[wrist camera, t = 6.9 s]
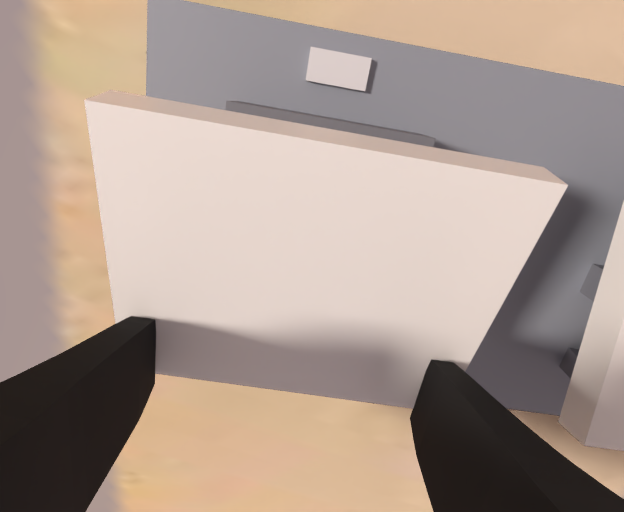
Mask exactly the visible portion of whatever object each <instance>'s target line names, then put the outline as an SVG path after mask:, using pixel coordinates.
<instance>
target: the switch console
mask: <svg viewBox="0 0 624 512" xmlns="http://www.w3.org/2000/svg"><path fill="white" fill-rule="evenodd" d="M146 96H149V97H154V98H160V99H165V100H171V101H177V102H182V103H188V104H193V105H199V106H205V107H210V108H216V109H221V110H227V111H233V112H238V113H244V114H249V115H255V116H261V117H266V118H272V119H277V120H283V121H289V122H294V123H300V124H305V125H311V126H317V127H322V128H328V129H333V130H339V131H345V132H350V133H356V134H361V135H367V136H373V137H378V138H384V139H389V140H395V141H401V142H406V143H412V144H417V145H423V146H429V147H434V148H440V149H445V150H451V151H457V152H462V153H468V154H473V155H479V156H485V157H490V158H496V159H501V160H507V161H513V162H518V163H524V164H529V165H535V166H541V167H544V168H546V169H547V170H548V171H550V172H551V173H552V174H554V175H555V176H557V177H558V178H559V179H561V180H562V181H563V182H565V183H566V184H567V185H568V187H567V189H566V190H565V192H564V194H563V196H562V198H561V199H560V201H559V203H558V205H557V207H556V208H555V210H554V212H553V214H552V216H551V217H550V219H549V221H548V223H547V225H546V226H545V228H544V230H543V232H542V234H541V235H540V237H539V239H538V241H537V243H536V245H535V246H534V248H533V250H532V252H531V254H530V255H529V257H528V259H527V261H526V263H525V264H524V266H523V268H522V270H521V272H520V273H519V275H518V277H517V279H516V281H515V282H514V284H513V286H512V288H511V290H510V291H509V293H508V295H507V297H506V299H505V301H504V302H503V304H502V306H501V308H500V310H499V311H498V313H497V315H496V317H495V319H494V320H493V322H492V324H491V326H490V328H489V329H488V331H487V333H486V335H485V337H484V338H483V340H482V342H481V344H480V346H479V347H478V349H477V351H476V353H475V355H474V357H473V358H472V360H471V362H470V364H469V366H468V367H467V369H466V371H465V372H466V373H467V374H468V375H469V376H471V377H472V378H473V379H474V380H475V381H476V382H477V383H478V384H480V385H481V386H482V387H483V388H484V389H485V390H486V391H487V392H488V393H490V394H491V395H492V396H493V397H494V398H495V399H496V400H497V401H498V402H500V403H501V404H502V405H503V406H504V407H505V408H507V409H514V410H521V411H528V412H536V413H543V414H550V415H557V416H560V414H561V410H562V407H563V404H564V400H565V397H566V393H567V390H568V387H569V383H570V380H571V377H572V373H573V370H574V366H575V363H576V360H577V356H578V353H579V350H580V346H581V343H582V339H583V336H584V333H585V329H586V326H587V323H588V319H589V316H590V312H591V309H592V306H593V302H594V299H595V296H596V292H597V289H598V285H599V282H600V279H601V275H602V272H603V269H604V265H605V262H606V258H607V255H608V252H609V248H610V245H611V242H612V238H613V235H614V231H615V228H616V225H617V221H618V218H619V215H620V211H621V208H622V204H623V201H624V86H621V85H616V84H611V83H605V82H600V81H595V80H590V79H585V78H580V77H575V76H569V75H564V74H559V73H554V72H549V71H544V70H539V69H533V68H528V67H523V66H518V65H513V64H508V63H503V62H497V61H492V60H487V59H482V58H477V57H472V56H466V55H461V54H456V53H451V52H446V51H441V50H436V49H430V48H425V47H420V46H415V45H410V44H405V43H400V42H394V41H389V40H384V39H379V38H374V37H369V36H364V35H358V34H353V33H348V32H343V31H338V30H333V29H328V28H322V27H317V26H312V25H307V24H302V23H297V22H292V21H286V20H281V19H276V18H271V17H266V16H261V15H256V14H250V13H245V12H240V11H235V10H230V9H225V8H220V7H214V6H209V5H204V4H199V3H194V2H189V1H184V0H148V8H147V75H146Z"/></svg>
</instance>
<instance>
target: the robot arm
mask: <svg viewBox="0 0 624 512" xmlns="http://www.w3.org/2000/svg"><path fill="white" fill-rule="evenodd" d="M155 357H156V321H155V319H148V318H141V317H134V316H130V317H128V318H126V319H124V320H122V321H120V322H118V323H116V324H114V325H113V326H111V327H109V328H107V329H105V330H103V331H102V332H100V333H98V334H96V335H94V336H93V337H91V338H89V339H87V340H85V341H83V342H81V343H80V344H78V345H76V346H74V347H72V348H70V349H68V350H66V351H65V352H63V353H61V354H59V355H57V356H55V357H53V358H51V359H49V360H47V361H45V362H42V363H40V364H38V365H36V366H34V367H32V368H30V369H28V370H26V371H24V372H22V373H20V374H18V375H16V376H14V377H11V378H9V379H7V380H5V381H3V382H0V512H86V510H87V508H88V506H89V505H90V503H91V501H92V500H93V498H94V496H95V494H96V493H97V491H98V489H99V488H100V486H101V484H102V483H103V481H104V479H105V478H106V476H107V474H108V472H109V471H110V469H111V467H112V466H113V464H114V462H115V461H116V459H117V457H118V455H119V454H120V452H121V450H122V449H123V447H124V445H125V443H126V442H127V440H128V438H129V437H130V435H131V433H132V431H133V430H134V428H135V426H136V424H137V423H138V421H139V419H140V417H141V414H142V412H143V410H144V408H145V405H146V403H147V401H148V398H149V396H150V394H151V391H152V389H153V386H154V384H155ZM410 420H411V427H412V433H413V439H414V444H415V450H416V455H417V459H418V462H419V466H420V469H421V472H422V475H423V479H424V482H425V485H426V489H427V492H428V495H429V498H430V501H431V505H432V508H433V511H434V512H624V499H622V498H621V497H620V496H618V495H617V494H615V493H614V492H612V491H611V490H609V489H608V488H606V487H605V486H604V485H602V484H601V483H599V482H598V481H597V480H595V479H594V478H593V477H591V476H590V475H588V474H587V473H586V472H584V471H583V470H581V469H580V468H579V467H577V466H576V465H575V464H573V463H572V462H571V461H569V460H568V459H567V458H565V457H564V456H563V455H561V454H560V453H559V452H558V451H556V450H555V449H554V448H553V447H552V446H550V445H549V444H548V443H547V442H545V441H544V440H543V439H542V438H540V437H539V436H538V435H537V434H535V433H534V432H533V431H532V430H531V429H529V428H528V427H527V426H526V425H525V424H524V423H522V422H521V421H520V420H519V419H518V418H517V417H515V416H514V415H513V414H512V413H511V412H510V411H509V410H507V409H506V408H505V407H504V406H503V405H502V404H501V403H500V402H498V401H497V400H496V399H495V398H494V397H493V396H492V395H491V394H490V393H488V392H487V391H486V390H485V389H484V388H483V387H482V386H481V385H480V384H478V383H477V382H476V381H475V380H474V379H473V378H472V377H471V376H469V375H468V374H467V373H466V372H465V371H464V370H462V369H461V368H460V367H459V366H457V365H456V364H455V363H453V362H446V361H439V360H432V359H431V361H430V363H429V365H428V367H427V369H426V372H425V375H424V378H423V381H422V384H421V387H420V390H419V393H418V396H417V399H416V402H415V405H414V408H413V411H412V414H411V417H410Z"/></svg>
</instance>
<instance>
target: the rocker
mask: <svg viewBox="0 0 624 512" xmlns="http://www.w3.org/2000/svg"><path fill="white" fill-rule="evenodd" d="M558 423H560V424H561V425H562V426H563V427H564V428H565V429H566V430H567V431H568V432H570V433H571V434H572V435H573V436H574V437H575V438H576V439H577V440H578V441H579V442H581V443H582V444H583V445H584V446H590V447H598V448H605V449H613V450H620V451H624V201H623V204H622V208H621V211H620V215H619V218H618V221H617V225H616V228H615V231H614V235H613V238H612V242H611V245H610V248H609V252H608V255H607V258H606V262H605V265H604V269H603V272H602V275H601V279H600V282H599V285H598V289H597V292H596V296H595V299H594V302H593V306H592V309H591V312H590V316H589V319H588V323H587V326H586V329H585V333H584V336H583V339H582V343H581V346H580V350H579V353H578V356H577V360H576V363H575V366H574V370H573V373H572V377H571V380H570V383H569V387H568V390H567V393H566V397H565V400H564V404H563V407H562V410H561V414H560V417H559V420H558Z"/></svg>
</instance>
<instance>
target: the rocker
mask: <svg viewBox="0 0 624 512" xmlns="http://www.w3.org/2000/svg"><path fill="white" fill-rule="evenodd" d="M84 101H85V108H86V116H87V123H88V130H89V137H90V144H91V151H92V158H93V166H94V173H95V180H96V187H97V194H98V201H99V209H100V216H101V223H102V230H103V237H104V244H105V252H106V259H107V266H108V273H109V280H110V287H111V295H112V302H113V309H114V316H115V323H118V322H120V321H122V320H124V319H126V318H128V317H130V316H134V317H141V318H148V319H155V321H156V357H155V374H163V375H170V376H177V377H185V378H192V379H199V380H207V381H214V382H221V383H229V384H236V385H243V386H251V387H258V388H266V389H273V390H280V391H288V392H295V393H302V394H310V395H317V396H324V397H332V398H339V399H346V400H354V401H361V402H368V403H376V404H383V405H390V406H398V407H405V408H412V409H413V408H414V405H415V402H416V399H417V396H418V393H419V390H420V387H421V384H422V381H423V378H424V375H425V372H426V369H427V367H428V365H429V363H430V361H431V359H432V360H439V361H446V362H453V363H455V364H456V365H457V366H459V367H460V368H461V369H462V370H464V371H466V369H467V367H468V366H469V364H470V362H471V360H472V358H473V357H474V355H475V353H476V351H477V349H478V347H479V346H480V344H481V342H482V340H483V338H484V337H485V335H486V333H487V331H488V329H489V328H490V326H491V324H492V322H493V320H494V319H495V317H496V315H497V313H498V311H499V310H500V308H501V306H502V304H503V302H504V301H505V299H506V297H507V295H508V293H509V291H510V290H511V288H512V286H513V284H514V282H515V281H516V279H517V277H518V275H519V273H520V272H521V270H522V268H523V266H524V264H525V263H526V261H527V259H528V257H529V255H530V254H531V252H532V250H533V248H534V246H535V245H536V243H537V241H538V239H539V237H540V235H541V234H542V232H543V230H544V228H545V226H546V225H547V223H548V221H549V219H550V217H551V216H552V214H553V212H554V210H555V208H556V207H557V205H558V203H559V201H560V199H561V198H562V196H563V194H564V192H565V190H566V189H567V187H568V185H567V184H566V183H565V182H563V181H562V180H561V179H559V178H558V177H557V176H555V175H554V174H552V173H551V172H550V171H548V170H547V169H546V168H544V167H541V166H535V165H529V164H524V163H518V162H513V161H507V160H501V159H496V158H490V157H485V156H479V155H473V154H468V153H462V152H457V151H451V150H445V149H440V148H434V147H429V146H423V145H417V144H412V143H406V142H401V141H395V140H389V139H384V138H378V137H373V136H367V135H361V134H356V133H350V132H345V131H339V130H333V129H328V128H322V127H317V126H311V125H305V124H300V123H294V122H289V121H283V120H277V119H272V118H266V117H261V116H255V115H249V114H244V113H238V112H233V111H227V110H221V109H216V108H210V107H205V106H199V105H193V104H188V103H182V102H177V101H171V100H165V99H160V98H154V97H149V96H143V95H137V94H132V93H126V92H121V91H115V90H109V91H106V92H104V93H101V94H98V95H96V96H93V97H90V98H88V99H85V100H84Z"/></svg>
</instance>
